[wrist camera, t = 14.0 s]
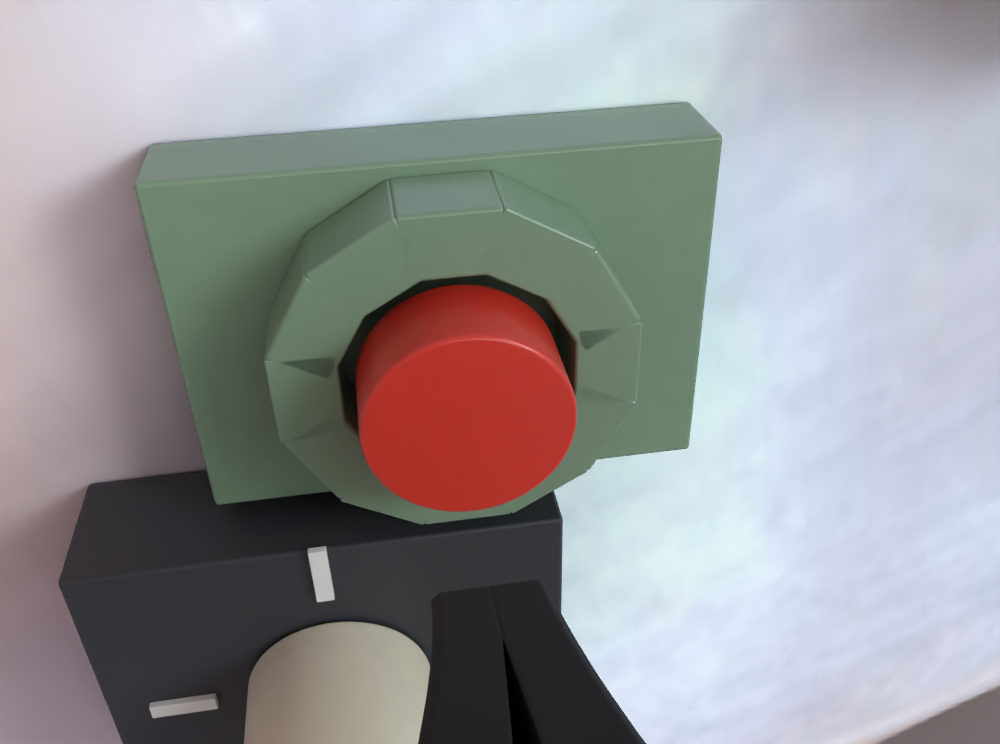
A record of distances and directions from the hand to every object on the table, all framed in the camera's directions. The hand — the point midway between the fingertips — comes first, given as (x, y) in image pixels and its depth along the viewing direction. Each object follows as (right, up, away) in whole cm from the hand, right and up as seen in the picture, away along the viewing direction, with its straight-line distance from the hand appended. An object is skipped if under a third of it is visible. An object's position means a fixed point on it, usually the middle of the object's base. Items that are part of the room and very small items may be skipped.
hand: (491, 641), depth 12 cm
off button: (-1, +3, +5) cm, 6 cm away
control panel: (-4, -2, +12) cm, 13 cm away
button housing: (-1, +5, +8) cm, 9 cm away
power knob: (-3, -4, +9) cm, 11 cm away
